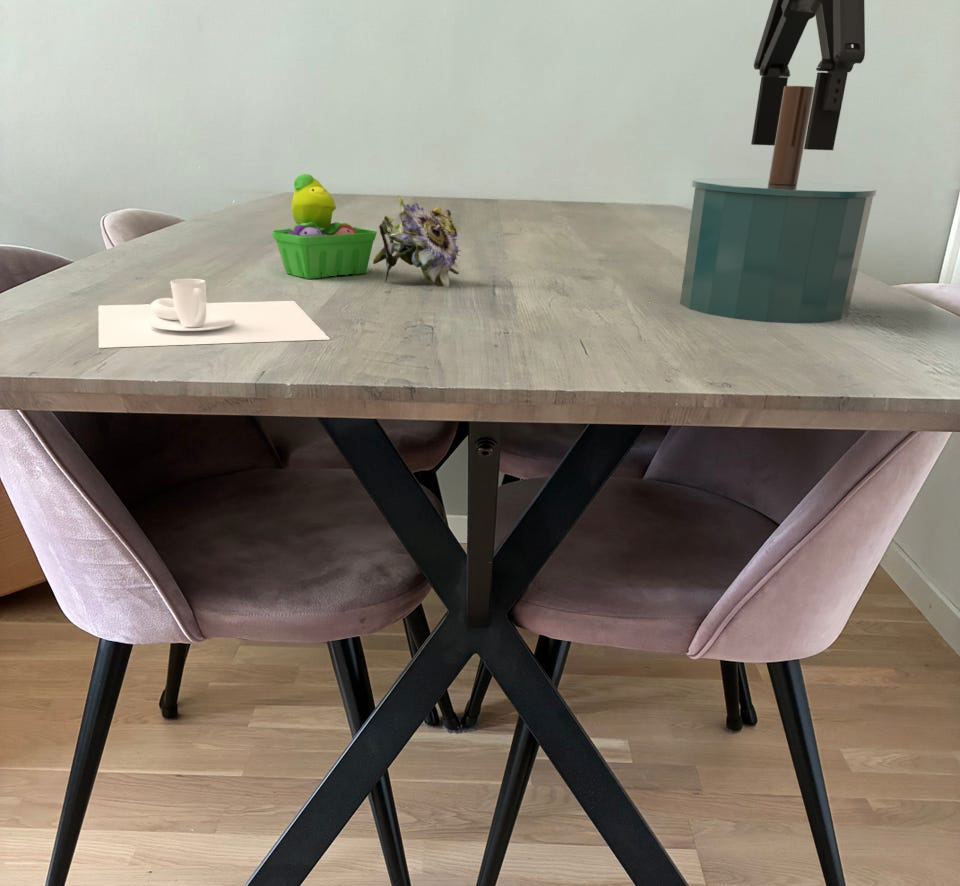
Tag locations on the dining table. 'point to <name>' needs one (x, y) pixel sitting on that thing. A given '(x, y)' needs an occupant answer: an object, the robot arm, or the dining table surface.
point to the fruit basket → (321, 236)
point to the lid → (787, 159)
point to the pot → (773, 256)
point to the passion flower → (421, 242)
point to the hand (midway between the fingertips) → (789, 147)
